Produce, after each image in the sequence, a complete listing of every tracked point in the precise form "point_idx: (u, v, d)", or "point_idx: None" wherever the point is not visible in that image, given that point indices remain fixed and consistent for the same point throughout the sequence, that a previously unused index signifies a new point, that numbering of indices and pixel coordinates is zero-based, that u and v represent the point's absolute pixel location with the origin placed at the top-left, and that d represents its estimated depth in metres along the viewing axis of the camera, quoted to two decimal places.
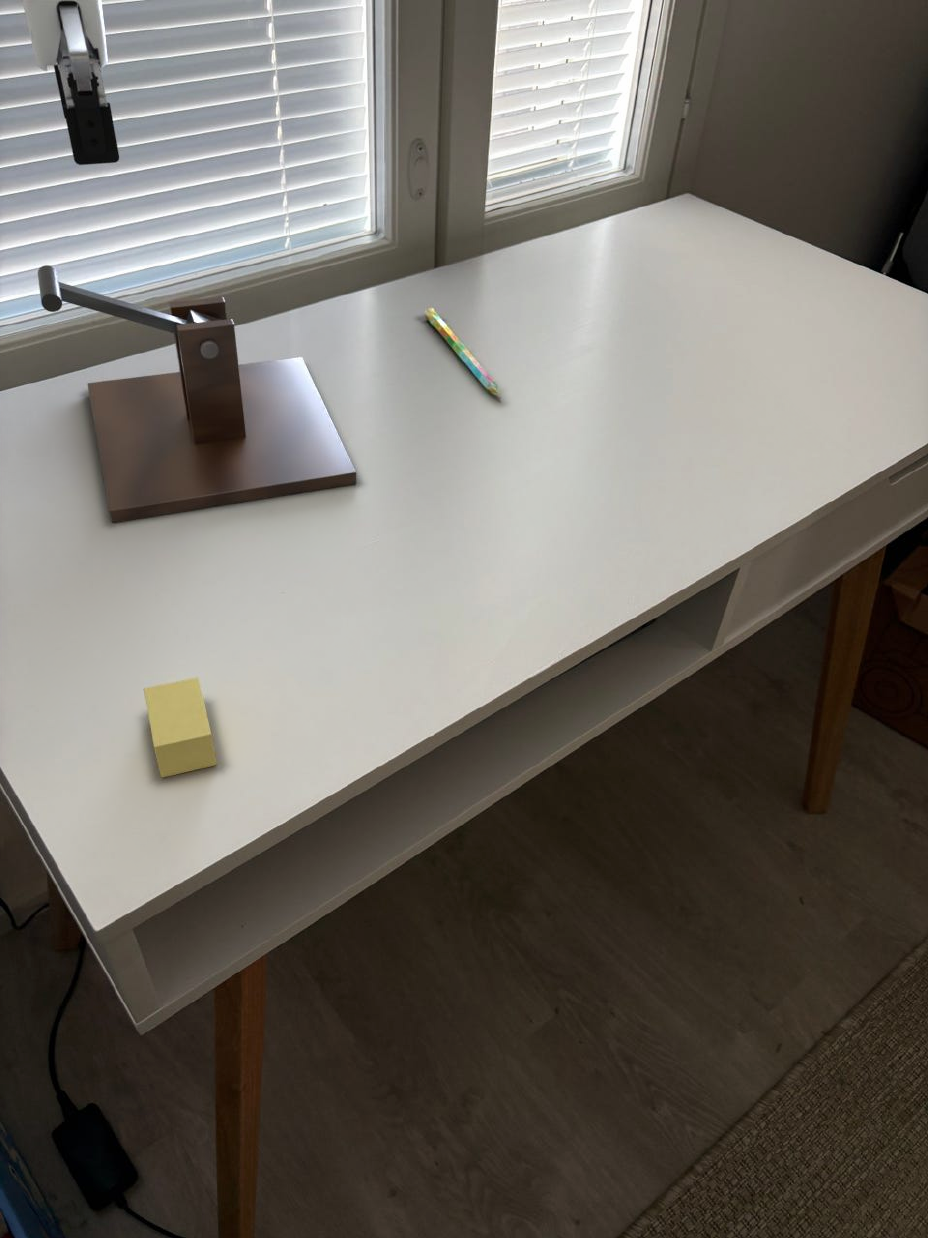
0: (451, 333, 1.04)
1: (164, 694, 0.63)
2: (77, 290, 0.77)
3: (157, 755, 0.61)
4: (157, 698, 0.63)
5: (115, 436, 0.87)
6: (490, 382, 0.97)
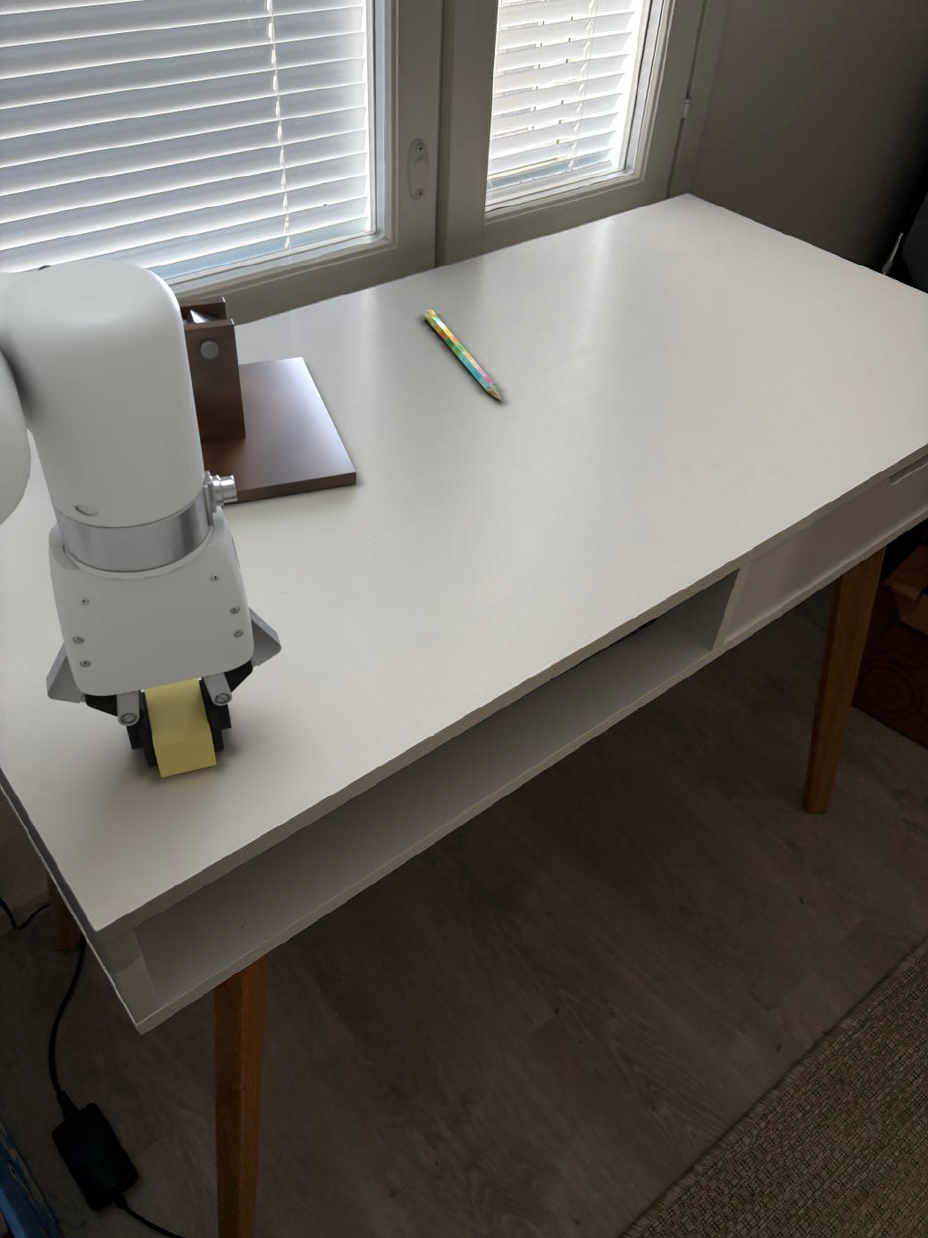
0: (451, 335, 1.04)
1: (164, 694, 0.63)
2: None
3: (157, 755, 0.61)
4: (157, 698, 0.63)
5: None
6: (490, 384, 0.97)
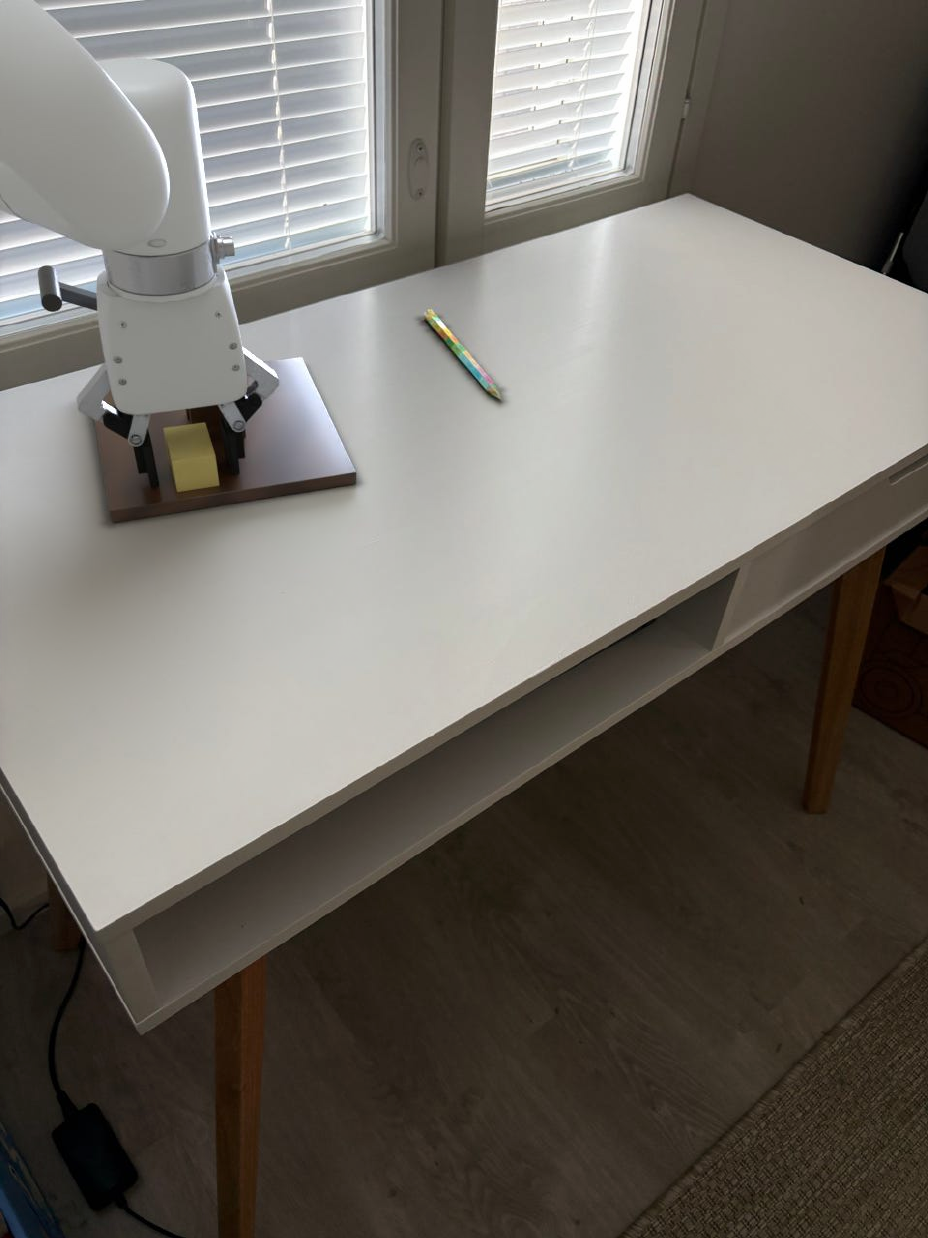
0: (451, 335, 1.04)
1: (179, 431, 0.82)
2: (77, 290, 0.77)
3: (174, 469, 0.80)
4: (173, 434, 0.82)
5: (115, 436, 0.87)
6: (490, 383, 0.97)
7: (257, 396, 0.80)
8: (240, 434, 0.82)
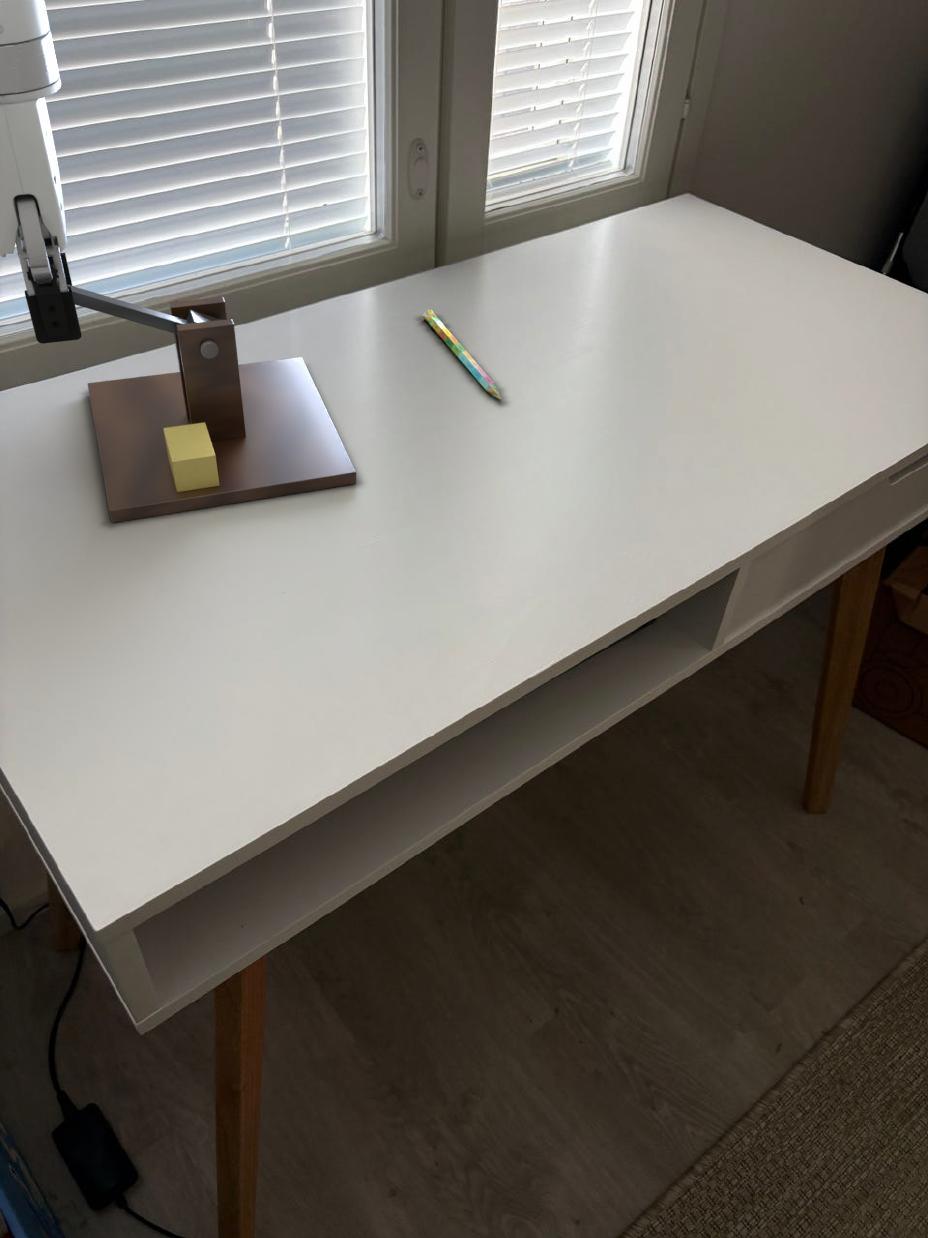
0: (450, 335, 1.04)
1: (179, 431, 0.82)
2: (77, 290, 0.77)
3: (174, 469, 0.80)
4: (173, 434, 0.82)
5: (115, 436, 0.87)
6: (490, 384, 0.97)
7: None
8: None
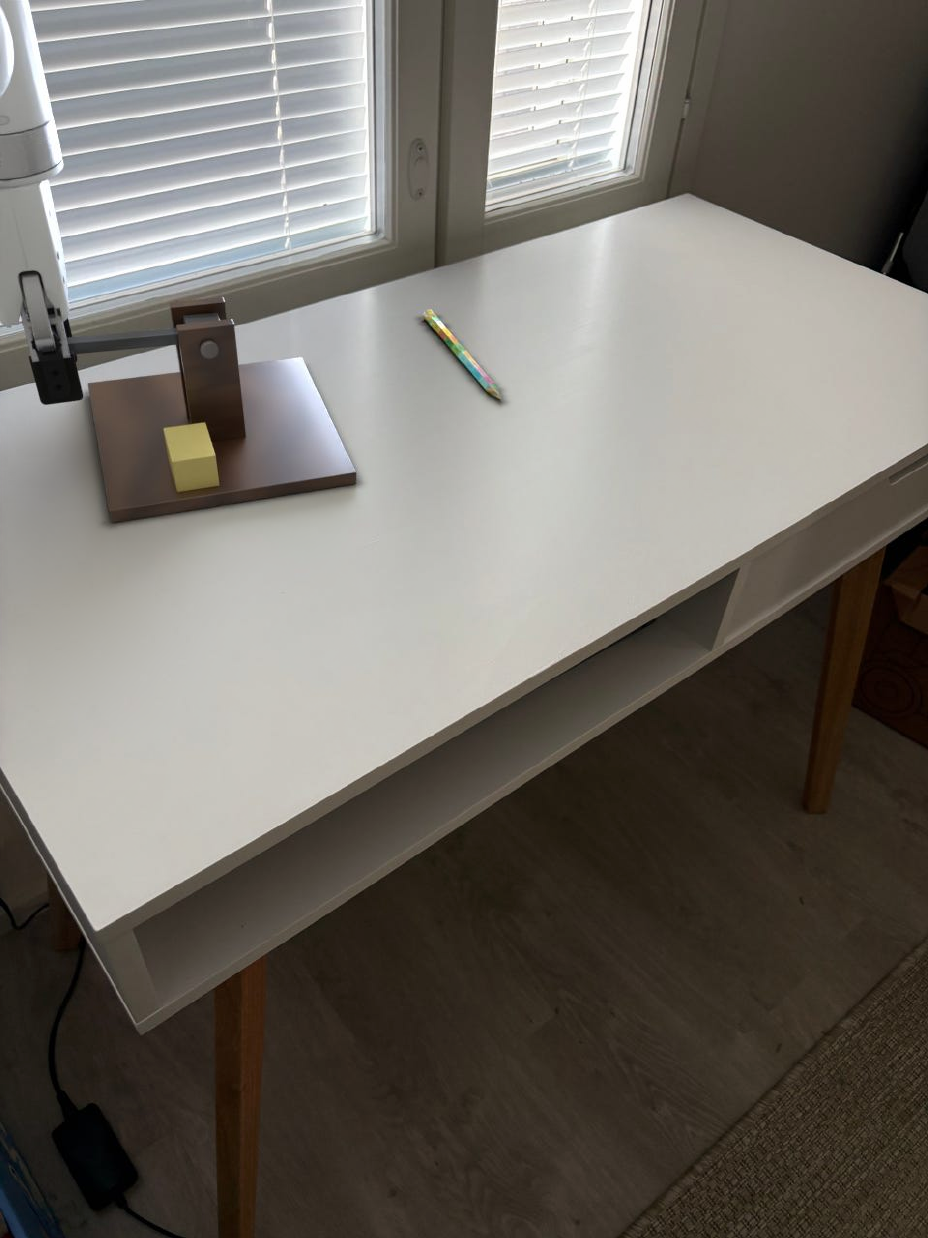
0: (450, 335, 1.04)
1: (179, 431, 0.82)
2: (73, 340, 0.79)
3: (174, 469, 0.80)
4: (173, 434, 0.82)
5: (115, 436, 0.87)
6: (490, 384, 0.97)
7: None
8: None
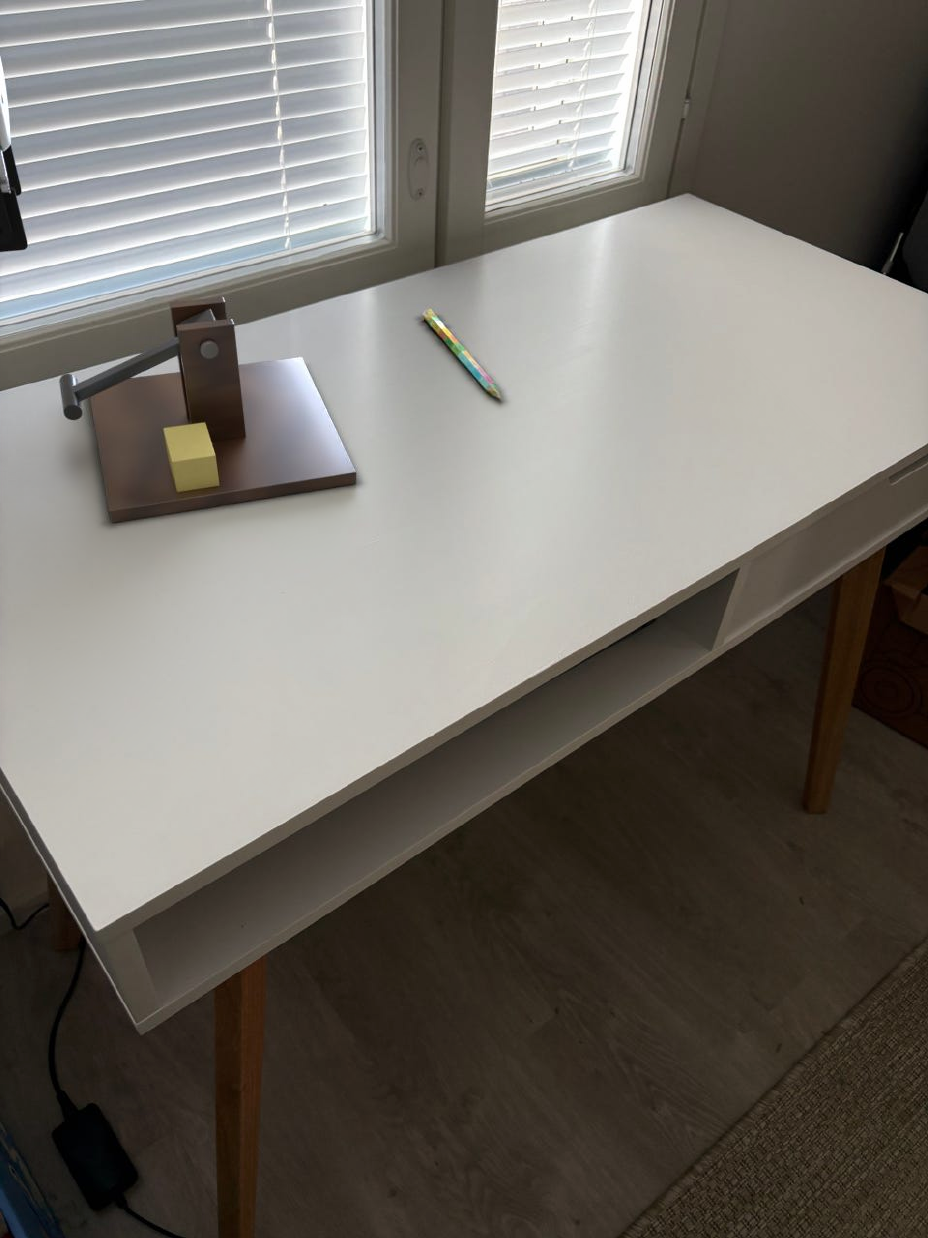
0: (450, 334, 1.04)
1: (179, 431, 0.82)
2: (88, 382, 0.82)
3: (174, 469, 0.80)
4: (173, 434, 0.82)
5: (115, 436, 0.87)
6: (490, 383, 0.97)
7: None
8: None
